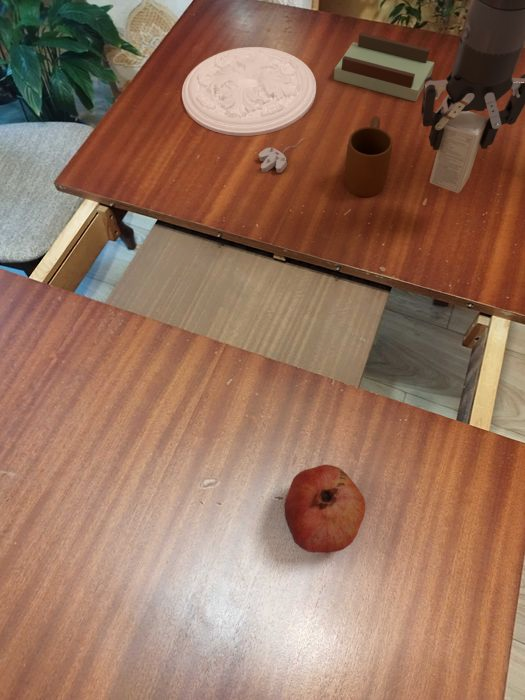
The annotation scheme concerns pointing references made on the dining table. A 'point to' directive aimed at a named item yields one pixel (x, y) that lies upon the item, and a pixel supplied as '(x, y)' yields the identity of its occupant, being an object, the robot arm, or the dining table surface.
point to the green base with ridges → (385, 66)
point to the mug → (367, 159)
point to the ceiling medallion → (249, 91)
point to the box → (458, 150)
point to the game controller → (273, 159)
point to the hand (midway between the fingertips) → (458, 145)
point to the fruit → (323, 509)
